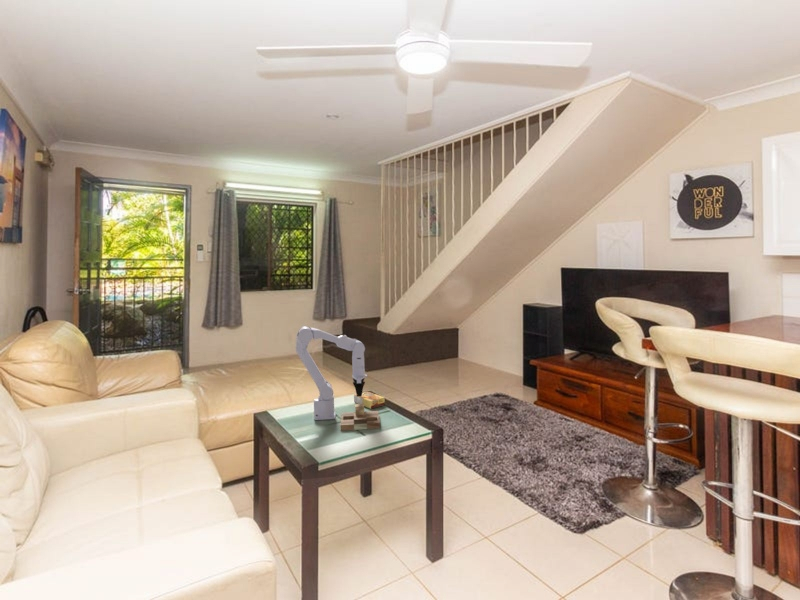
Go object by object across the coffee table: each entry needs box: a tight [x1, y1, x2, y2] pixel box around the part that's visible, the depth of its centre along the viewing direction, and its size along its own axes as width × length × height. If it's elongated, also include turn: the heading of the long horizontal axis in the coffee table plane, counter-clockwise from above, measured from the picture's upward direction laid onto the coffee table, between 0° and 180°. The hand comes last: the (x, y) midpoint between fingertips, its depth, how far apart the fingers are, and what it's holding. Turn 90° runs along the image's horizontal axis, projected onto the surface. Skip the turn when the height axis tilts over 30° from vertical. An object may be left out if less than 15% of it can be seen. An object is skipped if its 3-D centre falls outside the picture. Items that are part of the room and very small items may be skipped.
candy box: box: [353, 390, 386, 409], centre depth 218 cm, size 9×4×15 cm
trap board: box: [340, 410, 381, 431], centre depth 191 cm, size 16×17×4 cm
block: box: [354, 403, 365, 415], centre depth 197 cm, size 4×4×4 cm
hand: (359, 394), depth 203 cm, fingers open, 5 cm apart
